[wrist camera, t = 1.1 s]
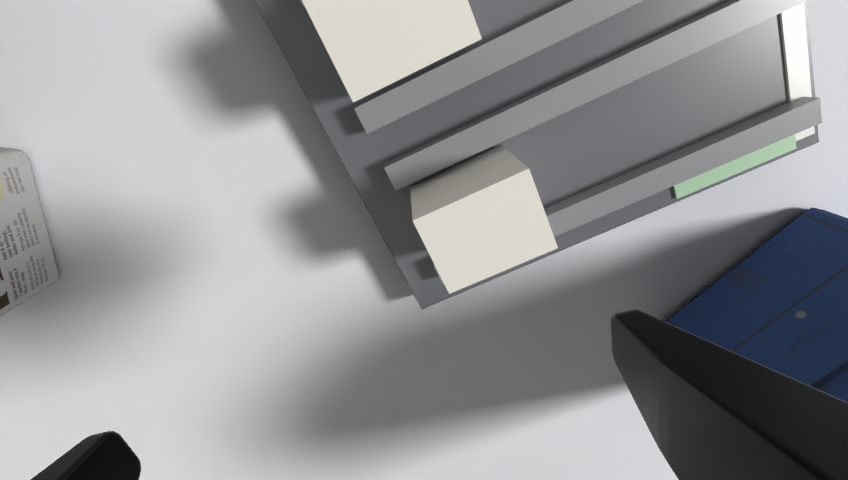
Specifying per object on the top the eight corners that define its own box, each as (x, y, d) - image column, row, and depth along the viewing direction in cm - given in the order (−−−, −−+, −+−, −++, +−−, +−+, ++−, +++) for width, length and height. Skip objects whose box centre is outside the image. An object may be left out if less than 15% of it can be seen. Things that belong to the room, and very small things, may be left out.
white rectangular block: (363, 92, 16) (353, 102, 12) (323, 9, 15) (297, -7, 11) (462, 43, 16) (482, 38, 12) (428, -46, 14) (438, -82, 11)
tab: (439, 247, 19) (449, 294, 15) (410, 186, 17) (412, 220, 14) (526, 209, 18) (558, 248, 14) (501, 145, 17) (529, 168, 13)
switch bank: (420, 293, 21) (422, 319, 19) (247, -31, 16) (223, -45, 14) (788, 136, 19) (837, 145, 17) (739, -304, 13) (803, -372, 11)
